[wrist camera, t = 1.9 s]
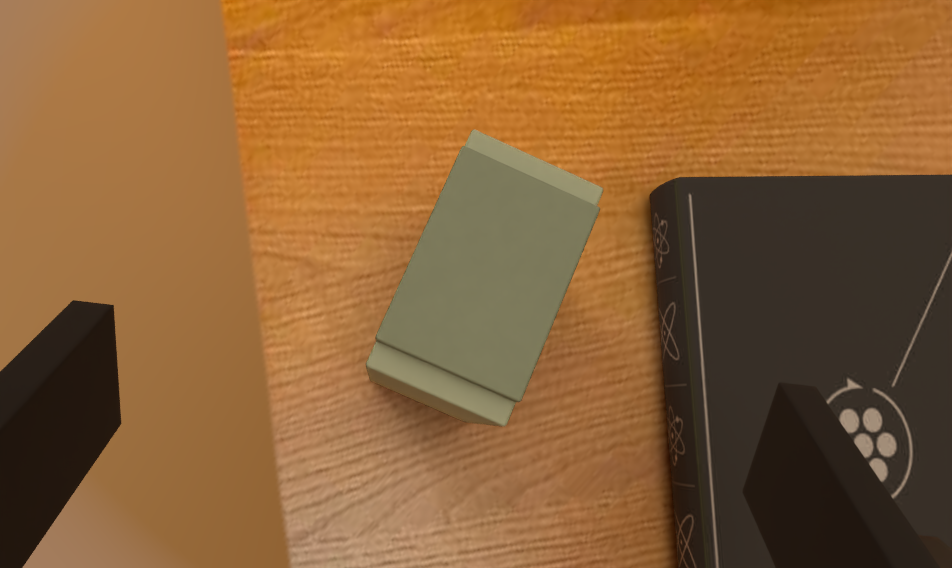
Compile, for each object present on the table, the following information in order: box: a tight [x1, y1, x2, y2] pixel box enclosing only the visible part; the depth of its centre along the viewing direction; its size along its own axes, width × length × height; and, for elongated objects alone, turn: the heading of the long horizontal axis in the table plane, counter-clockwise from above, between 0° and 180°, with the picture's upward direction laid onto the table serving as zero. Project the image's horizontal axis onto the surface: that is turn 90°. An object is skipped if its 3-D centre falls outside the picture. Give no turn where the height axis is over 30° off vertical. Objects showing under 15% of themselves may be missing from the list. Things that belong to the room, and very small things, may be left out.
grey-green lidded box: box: [366, 130, 603, 426], centre depth 30 cm, size 5×8×12 cm, turn 157°
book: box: [650, 175, 952, 568], centre depth 35 cm, size 22×15×3 cm
